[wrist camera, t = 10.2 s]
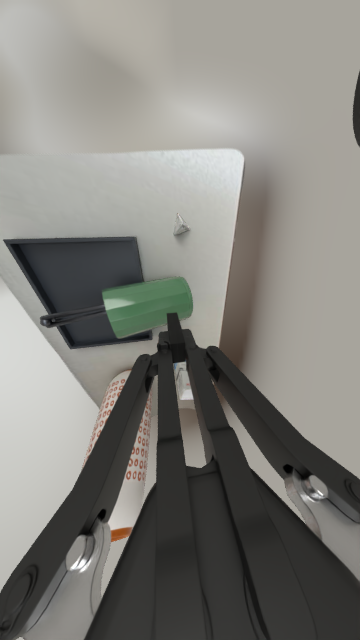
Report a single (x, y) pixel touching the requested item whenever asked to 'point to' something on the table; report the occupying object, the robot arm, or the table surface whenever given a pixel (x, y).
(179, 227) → the tetrahedral die
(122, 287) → the cup
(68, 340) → the tray
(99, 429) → the vase
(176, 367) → the ink box
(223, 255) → the table surface
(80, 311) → the tongs
